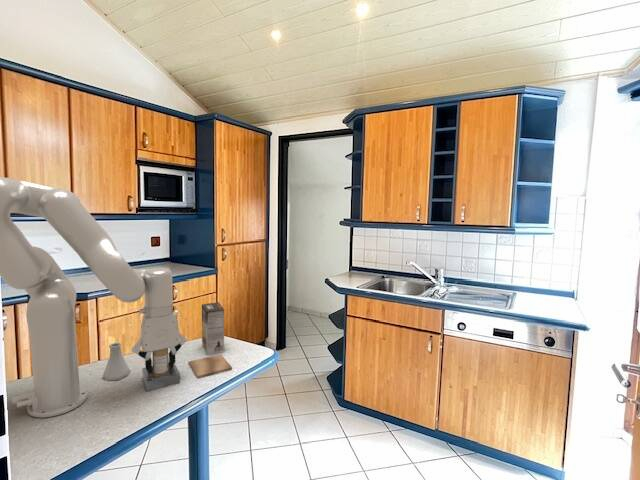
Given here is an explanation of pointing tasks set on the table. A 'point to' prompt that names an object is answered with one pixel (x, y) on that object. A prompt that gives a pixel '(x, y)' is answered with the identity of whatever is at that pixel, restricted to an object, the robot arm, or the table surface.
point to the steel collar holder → (160, 379)
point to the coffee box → (213, 328)
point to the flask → (116, 364)
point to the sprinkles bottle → (160, 363)
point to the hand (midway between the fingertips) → (160, 367)
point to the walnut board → (209, 366)
